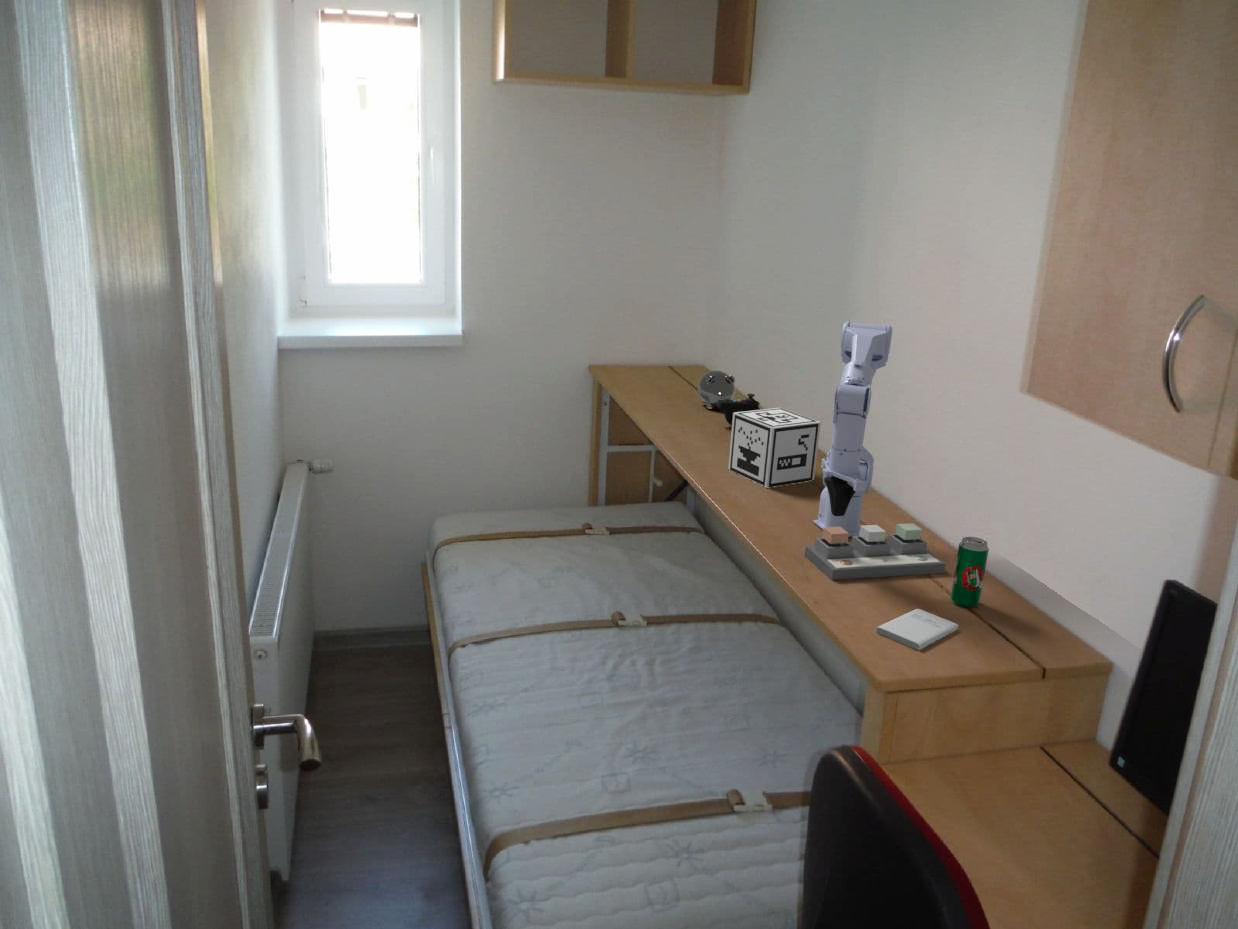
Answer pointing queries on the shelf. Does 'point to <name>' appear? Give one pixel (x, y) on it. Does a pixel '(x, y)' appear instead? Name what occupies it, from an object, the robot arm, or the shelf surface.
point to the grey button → (872, 533)
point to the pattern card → (883, 561)
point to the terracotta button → (835, 535)
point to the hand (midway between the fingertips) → (837, 514)
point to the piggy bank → (716, 387)
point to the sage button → (908, 531)
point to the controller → (737, 406)
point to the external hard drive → (917, 629)
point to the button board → (871, 549)
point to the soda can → (969, 571)
